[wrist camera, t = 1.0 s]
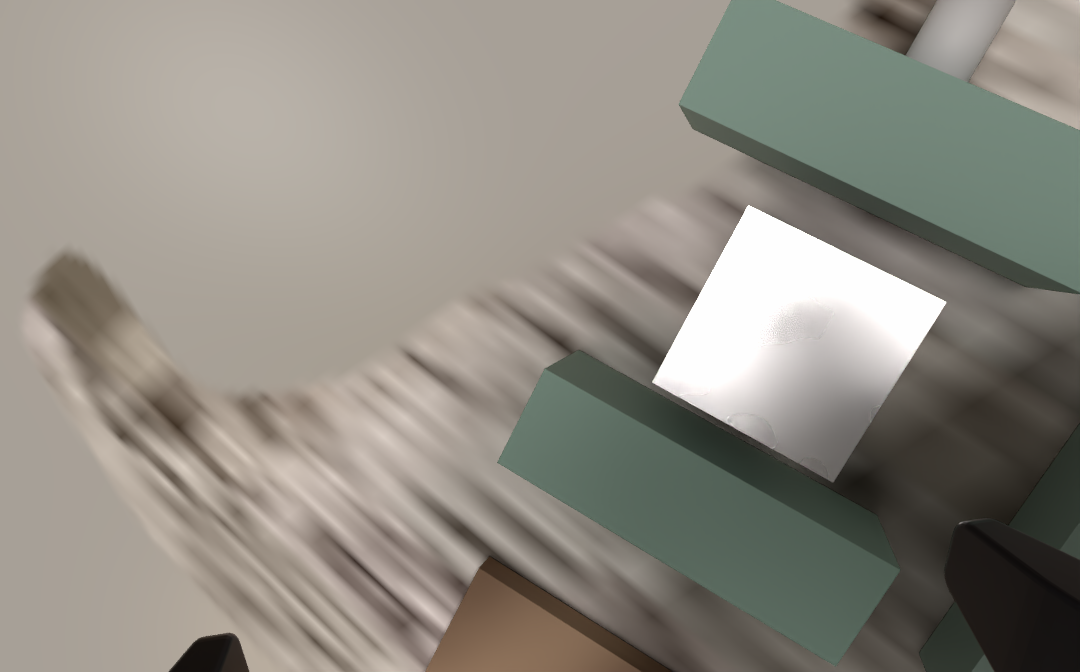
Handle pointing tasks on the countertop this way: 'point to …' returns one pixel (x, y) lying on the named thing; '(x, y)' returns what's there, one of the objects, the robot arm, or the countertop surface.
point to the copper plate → (527, 632)
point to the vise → (885, 191)
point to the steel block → (796, 342)
